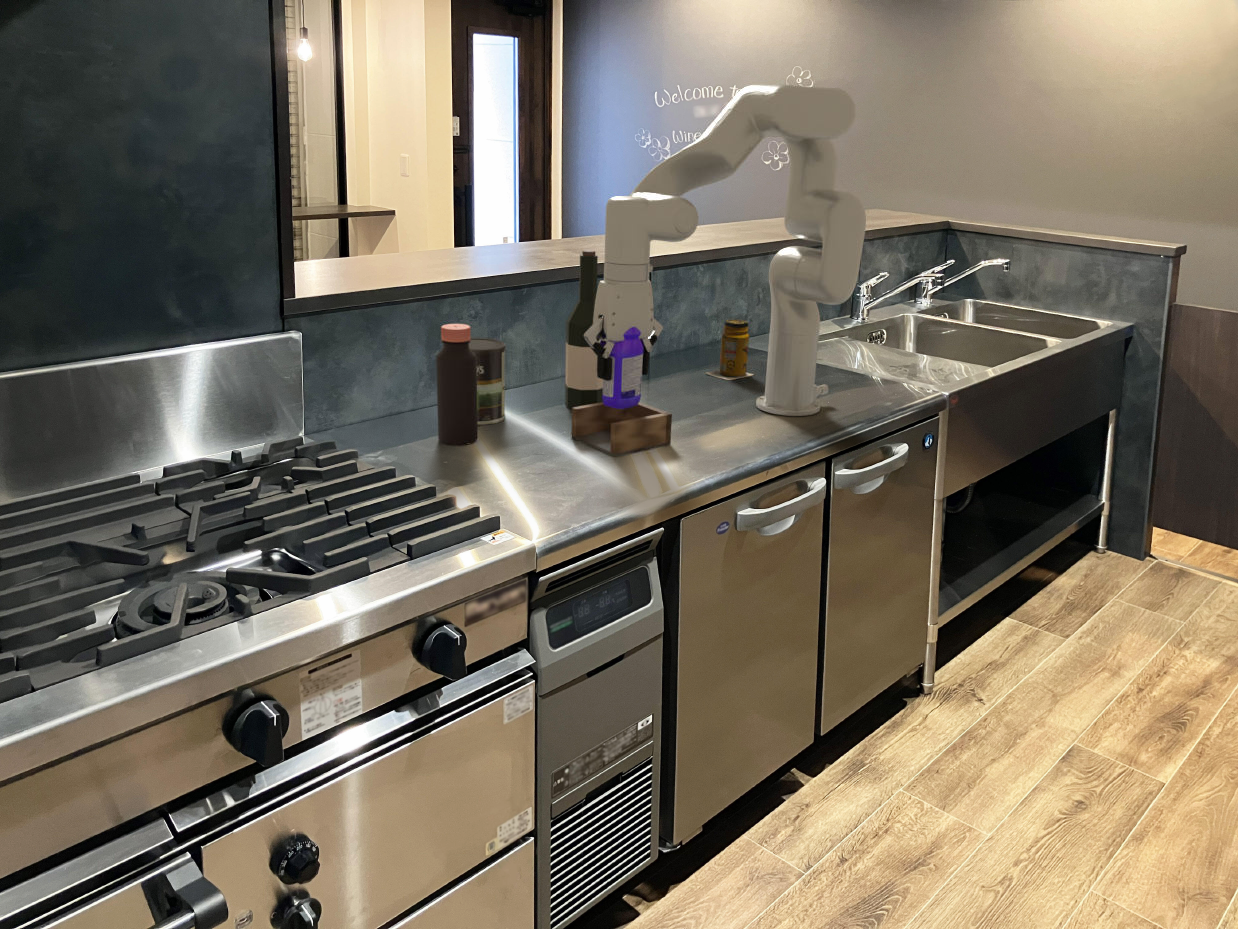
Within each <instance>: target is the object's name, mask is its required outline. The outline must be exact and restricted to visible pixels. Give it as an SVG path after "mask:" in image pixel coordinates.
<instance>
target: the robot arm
mask: <svg viewBox="0 0 1238 929" xmlns="http://www.w3.org/2000/svg"><path fill="white" fill-rule="evenodd" d="M855 119H856V105H855V102H854V99H853V98H852V96H851V95H850V94H849V93H848V92H847V91H846V90H844V89H842V88H839V87H838V88H837V87H818V86H815V87H813V86H802V85H792V84H761V83H759V84H751V85H748V86H745V87H743V88H742V89H740V90H739V91H738V92H737V93H736V94H735V96H733V98H731V100H730V101H729V102H728V104H727V105H726V106H725V107H724V108H723V109H722V111H720V113H719V114H718V115H717V116H716V117H715V119H713V121H712V122H711V123H710V125H708V127H707V128H706V129H705V130H704V131H703V133H702V134H701V135H700V136H699V137H698V138H697V139H696V140H695V141H694V142H693V143H691V144H689V145H687V146H685V147H684V148H682V149H681V150H679V151H677V152H676V153H674V154H672V155H671V156H669V157H668V158H666V159H665V160H663V161H662V162H660V163H659V164H657V165H656V166H654V167H653V168H652V169H651V170H649V172H648V173H647V174H646V175H645V176H644V177H643V178H642V179H641V180H640V182H639V183H638V184H637V185H636V187H634V189H633V190H632V191H631V193H630V194H629V195H621V196H620V195H618V196H613V197H611V198H609V199H608V201H607V203H606V205H605V231H604V232H605V233H604V262H603V266H604V267H603V280H600V281H599V283H598V285H597V294H596V300H595V307H594V317H593V325H592V326H591V327H590V328H589V329H588V330H587V331H586V332H585V334H584V338H585V340H586V341H587V343H588V344H589V346H590V348H591V349H592V350H593V351H594V354H595V355H597V377H598V378H600V379H603V380H606V381H610V380H611V375H612V358H611V357H609V355H610V353H611V351H612V348H613V346H614V344H615V343H616V342H621V341H623V340H624V336H623V335H624V333H625V332H626V331H627V330H628V329H630V328H632V327H636V328H638V329H639V330H640V332H641V334H640V336H639V339H640V340H641V342H642V345H643V363H642V376H647V375H648V373H649V355H650V354H649V353H650V352H652V351H653V346H654V345H655V343H656V342H657V341H658V337H659V336H660V334H661V333H662V331H663V328H664V326H663V325H662V324H661V323H660V322H659V321H658V320H657V319H656V318H655V317H654V314H655V313H654V295H653V288H652V281H651V280H649V278H650V273H652V272H653V270H654V267H653V265H652V264H651V263H650V257H651V256H650V255H651V242H652V241H660V242H669V243H679V242H682V241H686V240H687V239H689V238H690V237H691V236H693V235H694V233H695V232H696V229H697V228H698V224H699V213H698V211H697V208H696V207H695V205H694V204H693V203H692V202H691V201H690V200H688V199H687V198H684V197H682V196H683V195H685V194H686V193H689V192H691V191H692V190H695V189H698V188H701V187H704V186H705V187H706V186H708V185H713V184H715V183H718V182H721V181H724V180H726V179H728V178H731V176H733V175H734V174H735V173H736V172H737V171H738V170H739V168H740V167H741V166H742V164H744V163H745V161H746V160H747V158H748V157H749V156H750V155H751V154H752V153H753V151H754V150H756V148H757V147H758V146H759V145H760V143H761V142H762V141H763V140H764V139H765V138H769V137H771V138H782V140H783V141H784V143H785V146H786V147H787V150H788V154H789V158H790V161H789V162H790V168H789V170H790V171H789V177H788V178H789V179H788V185H787V194H786V200H785V202H786V203H785V209H784V228H785V230H786V231H787V233H788V234H789V235H790V236H792V237H793V238H797V239H800V240H805V241H812V242H816V243H817V242H818V243H822V248H821V249H818V248H813V247H808V246H807V247H806V246H802V245H801V246H800V245H799V246H798V245H793V246H787V247H784V248H782V249H780V250H779V251H777V252H776V253H775V255H774V256H773V258H772V259H771V261H770V264H769V270H768V281H769V289H770V290H769V291H770V299H771V300H770V302H771V304H770V305H771V306H770V307H771V310H770V324H769V334H768V335H769V336H768V348H767V361H766V362H767V363H766V373H765V374H766V375H765V389H764V395H762V396H759V397H757V398H756V400H755V401H756V402H755V406H756V407H757V408H758V410H761V411H763V412H766V413H769V414H772V415H778V416H788V417H803V416H810V415H811V416H812V415H815V414H817V413H818V412H820V410H821V404H820V402H819V401H817V397H818V396H820V395H826V394H828V393H829V386H828V384H825V383H824V384H821V385H817V384H815V381H816V371H817V361H818V349H819V348H818V347H819V340H820V339H819V338H820V330H821V328H820V327H821V316H820V311H819V307H818V304H817V303H819V304H820V303H821V304H825V305H830V306H832V305H833V306H837V305H840V304H844V303H845V302H846V301H848V300H849V299H850V297H851V295H853V292H854V290H855V288H856V285H857V281H858V277H859V272H860V266H861V260H862V253H863V249H864V248H863V247H864V246H863V245H864V240H865V235H866V227H867V226H866V225H867V224H866V223H867V219H866V218H867V215H866V210H865V206H864V204H863V202H862V201H861V199H860V198H859V197H858V196H857V195H855V194H854V193H851V192H849V191H844V190H836V178H837V168H838V160H837V152H836V149H835V146H834V143H833V141H832V140H837V139H839V138H841V137H843V136H844V135H846V134H847V133H848V132H849V131H850V129H851V128H852V126H853V124H854V122H855ZM596 338H599V341H597V339H596ZM606 343H607V344H606ZM605 344H606V346H605ZM604 346H605V348H604Z"/></svg>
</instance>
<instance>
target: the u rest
mask: <svg viewBox="0 0 1238 929" xmlns="http://www.w3.org/2000/svg"><path fill="white" fill-rule="evenodd" d="M672 418H673V413H671V412H668V411H665V410H662V409H659V408H657V407H654V406H651V405H648V404H645V403H644V402H640V401H639V403H638V404H637V405H635V406H633V407H630V408H626V409H616V408H612V407H608V406H605V405H604V403H603V402H601V403H595V404H590V405H584V406H579V407H573V408H572V409H571V439H573V440H575V441H577V442H580V443H581V444H584V445H587V446H589V447H590V448H594V449H595V450H598V451H600V452H603V453H605V454H606V455H608V456H611V457H613V458H617V457H622V456H624V455H630V454H635V453H639V452H643V451H648V450H652V449H656V448H661V447H666V446H670V445H671V444H672V442H671V439H672V438H671V437H672V422H673V421H672V420H673V419H672Z"/></svg>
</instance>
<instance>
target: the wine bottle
mask: <svg viewBox="0 0 1238 929" xmlns="http://www.w3.org/2000/svg"><path fill="white" fill-rule="evenodd" d="M598 258H599V256H598V254H596V250H595V249H594V250H593V249H585V250H582V252H581V254H580V255H579V282H578V283H579V291H578V301H577V302H576V304H575V305H574V307H573V308H572V310H571V312H570V313H569V315H568V316H567V318H566V321H565V322H566V323H565V324H566V325H565V334H566V335H565V383H564V384H565V385H564V386H565V388H564V389H565V390H564V391H565V393H564V401H565V402H564V404H565V406H566V407H567V409H571V410H572V408H573V407H579V406H584V405H590V404H595V403H601V402H603V398H602V395H603V379H600V378H598V377H597V355H595V354H594V351H593V350H592V349H591V348H590V346H589V344H588V343H587V341H586V340H585V338H584V334H585V332H586V331H587V330H588V329H589V328H590V327H591V326H592V325H593V317H594V307H595V300H596V294H597V290H598V263H599V262H598ZM596 339H597V341H599V338H596ZM605 346H606V344H605ZM605 346H604V348H605Z"/></svg>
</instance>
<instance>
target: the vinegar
mask: <svg viewBox="0 0 1238 929" xmlns="http://www.w3.org/2000/svg"><path fill="white" fill-rule="evenodd" d="M471 330H472V329H471V326H470V325H469V324H465V323H448V324H443V325H442V326H441V327H440V333H441V334H440V337H441V343H442V344H443V345H442V346H443V348H441V350H440V351H439V352H438V353H437V354H436V357H435V360H436V361H435V363H436V366H435V367H436V368H435V369H436V394H437V395H436V398H437V399H436V400H437V404H436V405H437V436H438V440H439V442H441V443H442V444H445V445H450V446H465V445H470V444H473V443H476V442H477V440H478V436H479V435H478V430H479V429H478V428H479V427H478V426H479V425H478V423H477V357H476V355H475V353H474V352H473V351H472V350H471V349H470V348H469V343H470V339H471V338H472V335H471V334H472V333H471Z"/></svg>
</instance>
